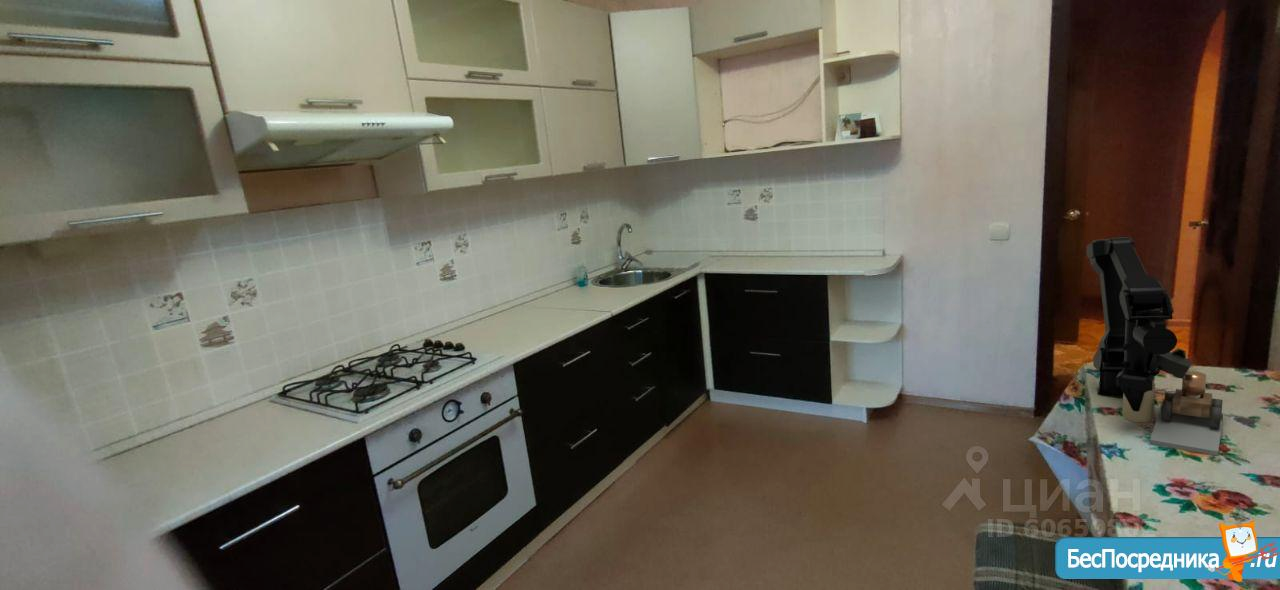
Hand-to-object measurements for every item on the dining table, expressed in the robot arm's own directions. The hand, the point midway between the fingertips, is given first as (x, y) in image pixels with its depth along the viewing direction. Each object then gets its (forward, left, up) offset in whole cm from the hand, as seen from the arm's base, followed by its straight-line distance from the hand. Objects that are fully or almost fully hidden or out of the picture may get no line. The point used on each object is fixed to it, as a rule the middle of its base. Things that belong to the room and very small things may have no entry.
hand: (1138, 405), depth 142 cm
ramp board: (+9, -4, -3) cm, 10 cm away
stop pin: (+9, +3, -1) cm, 9 cm away
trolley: (+9, +1, -3) cm, 10 cm away
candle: (0, 0, -3) cm, 3 cm away
